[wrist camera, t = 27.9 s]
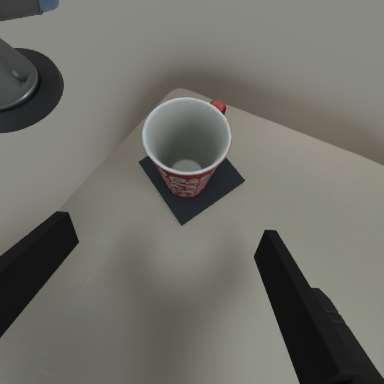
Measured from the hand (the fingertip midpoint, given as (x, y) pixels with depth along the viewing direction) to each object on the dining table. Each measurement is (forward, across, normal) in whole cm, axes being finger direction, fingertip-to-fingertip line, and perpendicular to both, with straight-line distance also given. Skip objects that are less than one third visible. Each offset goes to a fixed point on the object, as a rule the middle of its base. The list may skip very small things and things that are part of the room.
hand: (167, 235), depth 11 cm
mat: (+20, +1, -3) cm, 20 cm away
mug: (+20, +2, -3) cm, 20 cm away
